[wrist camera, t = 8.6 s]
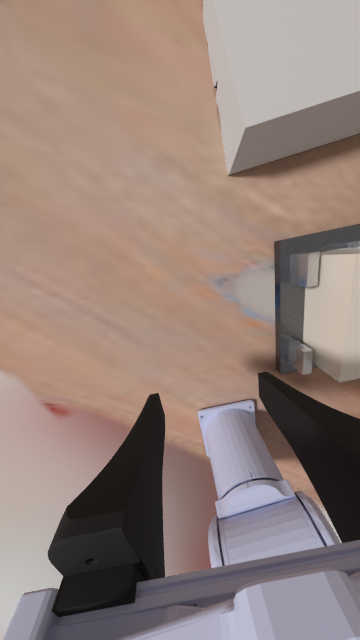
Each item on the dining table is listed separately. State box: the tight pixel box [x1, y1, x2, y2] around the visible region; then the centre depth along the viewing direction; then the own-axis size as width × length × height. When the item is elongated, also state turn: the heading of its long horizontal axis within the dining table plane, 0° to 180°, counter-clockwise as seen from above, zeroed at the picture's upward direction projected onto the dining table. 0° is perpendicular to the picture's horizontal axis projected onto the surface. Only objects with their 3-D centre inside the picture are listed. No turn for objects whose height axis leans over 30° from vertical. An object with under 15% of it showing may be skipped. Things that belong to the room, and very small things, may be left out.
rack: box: [274, 224, 360, 375], centre depth 19 cm, size 16×9×4 cm, turn 11°
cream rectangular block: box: [303, 247, 360, 382], centre depth 18 cm, size 12×4×5 cm, turn 11°
